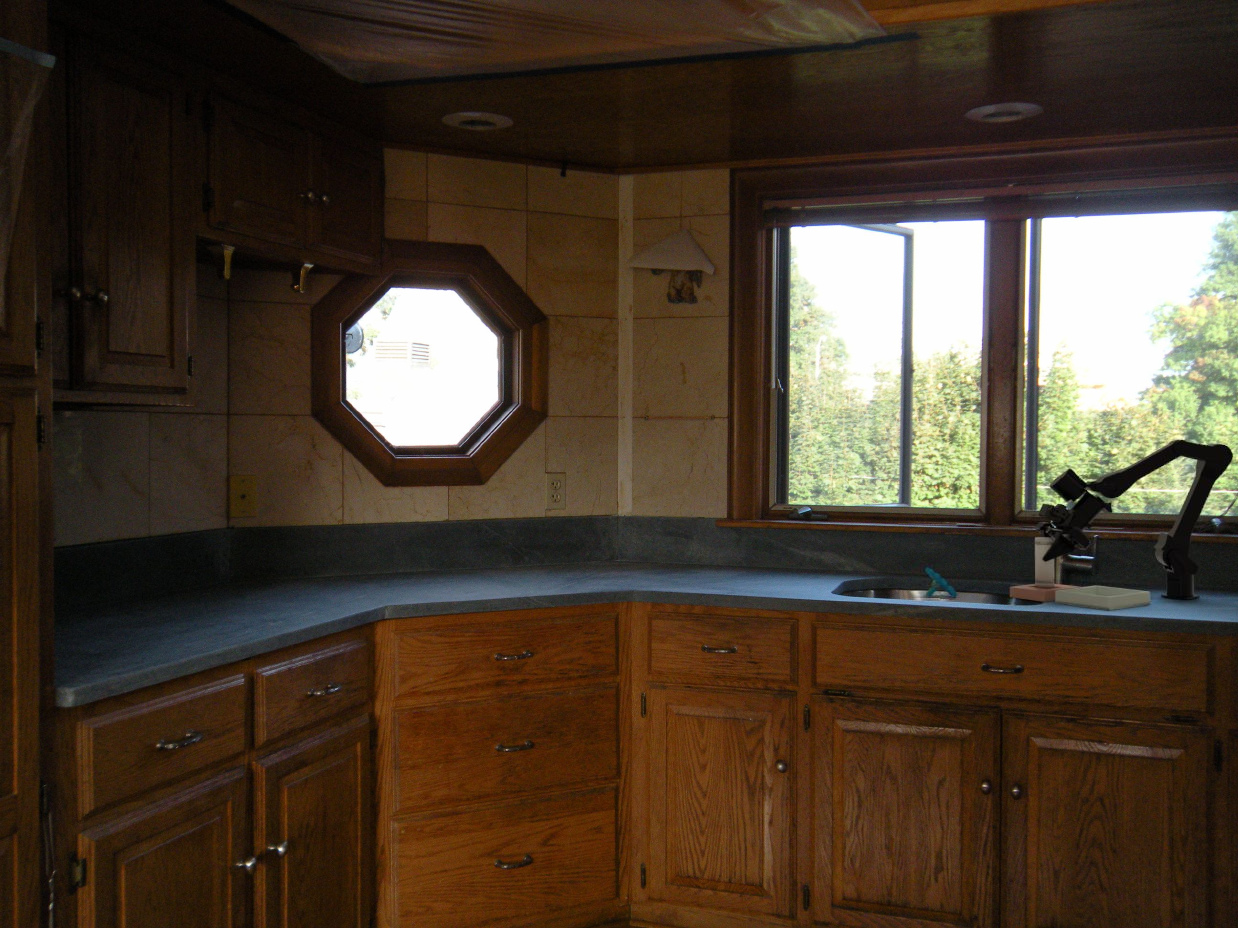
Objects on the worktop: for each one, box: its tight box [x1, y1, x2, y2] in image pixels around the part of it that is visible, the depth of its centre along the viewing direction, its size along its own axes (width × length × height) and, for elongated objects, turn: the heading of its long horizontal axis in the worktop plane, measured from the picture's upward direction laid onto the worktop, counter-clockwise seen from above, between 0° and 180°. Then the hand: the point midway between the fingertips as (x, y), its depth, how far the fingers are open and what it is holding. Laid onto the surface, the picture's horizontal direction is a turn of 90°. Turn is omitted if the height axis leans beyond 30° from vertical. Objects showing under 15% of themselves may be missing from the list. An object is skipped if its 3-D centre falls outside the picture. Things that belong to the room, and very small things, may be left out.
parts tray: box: [1054, 585, 1151, 611], centre depth 247 cm, size 16×14×3 cm
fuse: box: [1034, 536, 1055, 587], centre depth 260 cm, size 4×4×12 cm
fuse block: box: [1009, 583, 1081, 603], centre depth 260 cm, size 14×10×2 cm
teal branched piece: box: [925, 567, 958, 598], centre depth 262 cm, size 11×6×10 cm
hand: (1039, 559), depth 259 cm, fingers closed on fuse, 4 cm apart
